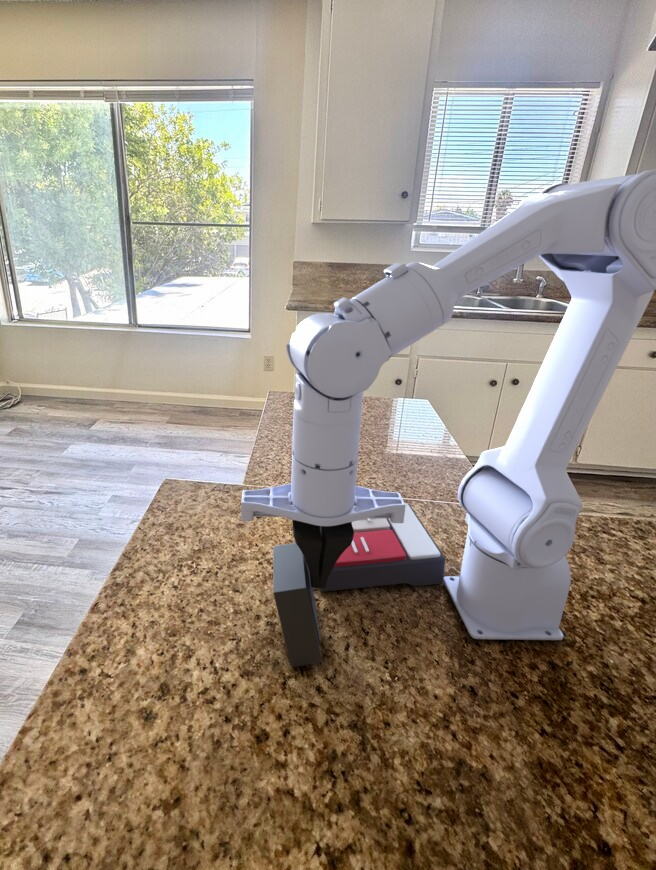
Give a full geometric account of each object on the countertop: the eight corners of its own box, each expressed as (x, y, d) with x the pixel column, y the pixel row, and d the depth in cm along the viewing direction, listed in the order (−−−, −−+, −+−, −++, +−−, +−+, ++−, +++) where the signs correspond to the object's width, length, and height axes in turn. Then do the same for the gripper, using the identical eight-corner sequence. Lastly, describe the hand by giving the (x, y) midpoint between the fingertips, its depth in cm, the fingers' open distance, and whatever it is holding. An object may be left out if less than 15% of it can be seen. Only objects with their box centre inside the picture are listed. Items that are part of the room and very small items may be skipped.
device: (317, 609, 45) (303, 540, 43) (324, 662, 39) (308, 587, 37) (288, 613, 45) (273, 545, 43) (291, 667, 40) (273, 593, 37)
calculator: (303, 507, 57) (409, 497, 59) (303, 533, 59) (407, 523, 60) (319, 566, 47) (447, 553, 48) (319, 596, 48) (444, 583, 49)
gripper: (395, 434, 40) (382, 551, 44) (244, 432, 40) (245, 549, 44) (419, 473, 33) (401, 607, 37) (238, 470, 33) (240, 605, 37)
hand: (317, 580), depth 40 cm, fingers closed
